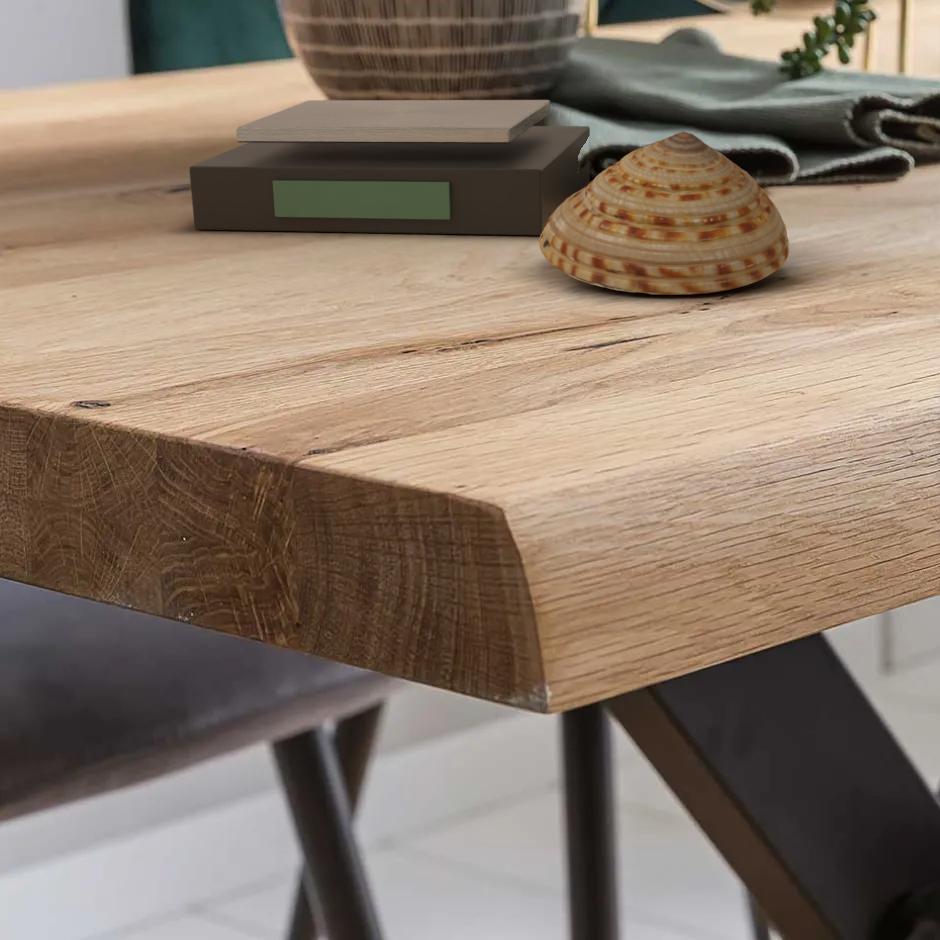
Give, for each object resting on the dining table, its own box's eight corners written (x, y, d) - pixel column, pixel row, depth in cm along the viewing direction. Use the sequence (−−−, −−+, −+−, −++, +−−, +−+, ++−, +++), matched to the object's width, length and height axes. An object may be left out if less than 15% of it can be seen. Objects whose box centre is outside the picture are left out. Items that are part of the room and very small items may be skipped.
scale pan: (236, 142, 62) (235, 127, 62) (308, 113, 70) (307, 100, 70) (509, 143, 60) (509, 127, 60) (550, 113, 68) (550, 99, 68)
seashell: (733, 172, 58) (808, 109, 50) (747, 324, 58) (825, 284, 50) (514, 183, 57) (555, 120, 49) (527, 338, 57) (571, 300, 49)
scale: (191, 230, 62) (186, 167, 61) (292, 180, 73) (288, 125, 72) (541, 236, 59) (540, 170, 58) (590, 182, 70) (589, 125, 69)
